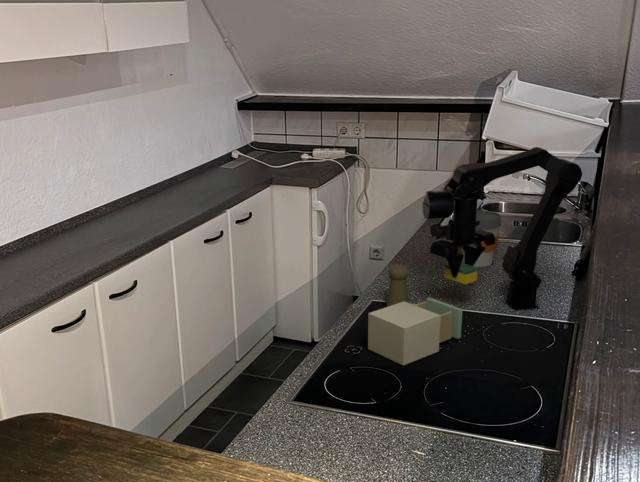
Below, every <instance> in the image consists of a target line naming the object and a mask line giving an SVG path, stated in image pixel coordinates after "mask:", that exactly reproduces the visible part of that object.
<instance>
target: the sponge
mask: <svg viewBox="0 0 640 482" xmlns="http://www.w3.org/2000/svg"><path fill="white" fill-rule="evenodd" d="M478 271H479V267H474V266H470V265H467V264H464V263H461V266H460V270H459V273H458V275H457V277H456V278H454V277H453V276H452V273H451V270H450V267H449V264H448V263H446V264H444V279H448V280H450V281H454V282H456V283H459V284H463V285H468V284H472V283H474V282H477V281H478Z"/></svg>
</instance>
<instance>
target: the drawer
mask: <svg viewBox="0 0 640 482" xmlns="http://www.w3.org/2000/svg"><path fill="white" fill-rule="evenodd" d="M425 300H426V301H422V302H419V303H416V304H414V305H415V306H418V307H420V308H423V309H426V310H428V311H431V312H433V313H436V314H439V315H441V318H440V338H439V344H441V343H443V342H446V341H448V340H451V339H452V338H453V339H457V340H460V339H461V338H462V327H463V325H462V323H463V309H462V308H460V307H457V306H454V305H451V304H449V303H446V302H443V301H440V300H438V299H436V298H433V297H426V299H425Z"/></svg>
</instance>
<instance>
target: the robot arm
mask: <svg viewBox="0 0 640 482" xmlns="http://www.w3.org/2000/svg"><path fill="white" fill-rule="evenodd" d="M536 167H539V168H541V169H542V170H544V171H546V172H547V173H546V176H545V180H544V181H545V182H544V191H543V194H542V196H541V198H540V200H539V201H538V204H537V207H536V209H535V210H534V212H533V214H532V217H531V218H530V220H529V223H528V225H527V227H526V229H525V231H524V232H523V235H522V236H521V239H520V240H519V242H518V243H517V244H516V245H514V246H512V245H508V246H507V248H506V252H505V254H504V256H502V258H501V259H502V265H501V267H502V269H503V271H504V272H505V273H506V275H507V276H508V278H509V280H510V281H509V286H508V287H507V292H506V299H505V302H506V303H507V304H508V305H509V306H510V307H512V309H513V310H527V309H538V308H539V305H538V304H537V303H536V302H537V293H538V288H540V286H541V284H542V282H543V281H542V278H540V277H539V276H538V274H536V273H535V269H536V265H537V259H538V257H537V256H538V250H539V247H540V245H541V244H542V241H543V240H544V238H545V235H546V233H547V232H548V229H549V227H550V225H551V224H552V221H553V219H554V217H555V215H556V214H557V211H558V210H559V208H560V205H561V204H562V202H563V200H564V199H565V198H566V197H567V196H568V195H569V194H571V193H572V192H573V191H574V190H575V189H576V187H577V185H578V184H579V183H580V181H581V179H582V177H583V171H582V168H581V167H580V165H579V164H578V163H575V162H572V161H570V160H567V159H565V158H559V157H558V156H555V155H554V154H552V153H551V152H549V151H548V150H547V149H545V148H543V147H538V146H534V147H532V148H530V149H528V150H525V151H522V152H518V153H515V154H512V155H508V156H505V157H502V158H499V159H496V160H495V159H494V160H491V161H489V162H488V161H487V162H472V163H465V164H460V165H458V166H457V167H455V169H454V171H453V173H452V176H451V178H450V180H449V181H448V182H447V183H446V185H445V186H444V187H443V189H442V190H438V191H435V190H427V191H426V192H425V196H424V198H423V202H422V206H421V207H422V215H423V218H424V219H425V220H433V219H448V218H450V216H452V218H450V219H449V220H448V221H447V223H446V224H443V225H441V223H434V224H431V225H430V230H429V231H430V236H431V237H432V238H435V240H436V241H433V242H432V243H431V244H430V245H429V254H431V255H435V256H437V257H441V258H445V259H446V261H447V264H449V267H450V270H451V273H452V276H453V277H454V278H456V277H457V275H458V273H459V270H460V266H461V263H462V260H463V256H464V254H462V253H461V248H463V250H464V252H465V264H467V265H470V266H474V264H475V263H476V261H477V259H478V258H479V257H480V255H481V254H482V252H483V251H484V250H485V249H486V247H483V246H482V244H481V242H482V241H484V242H485V244H486V245H487V246H490V245H493V244H495V236H494V234H493V233H491V232H487V231H483V230H476V226H477V225H480V221H478V220H476V216H477V210H478V201H479V200H486V199H487V196H486V195H485V194H484V193H483V192H482V190H481V189H482V188H485V187H486V186H488V185H489V184H490V183H491V182H493V181H495V180H497V179H500V178H503V177H506V176H510V175H514V174H516V173H519V172H523V171H526V170H529V169H533V168H536ZM475 230H476V231H475ZM443 238H445V240H444V239H443ZM439 239H441V240H439ZM511 280H512V281H511Z"/></svg>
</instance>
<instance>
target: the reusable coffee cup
mask: <svg viewBox="0 0 640 482" xmlns="http://www.w3.org/2000/svg"><path fill="white" fill-rule="evenodd" d="M476 220H478V221H480V225H477V226H476V230H483V231H487V232H491V233H493V234H494V236H495V244H493V245H490V246H487V245H486V244H485V242H484V241H482V242H481V244H482V246H483V247H486V249H485V250H484V251H483V252H482V254H481V255H480V257H479V258H478V259H477V261H476V263H475V264H474V267H477V268H486V267H490V266H491V265H493V259H494V255H495V251H496V250H497V248H498V243H499V239H500V228H501V226H502V215H501V214H500V213H498V212H495V211H491V210H484V209H483V210H482V209H477V216H476ZM476 230H475V231H476ZM460 253H461V254H464V256H463V260H462V263H464V264H465V252H464V250H463V248H461V249H460Z"/></svg>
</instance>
